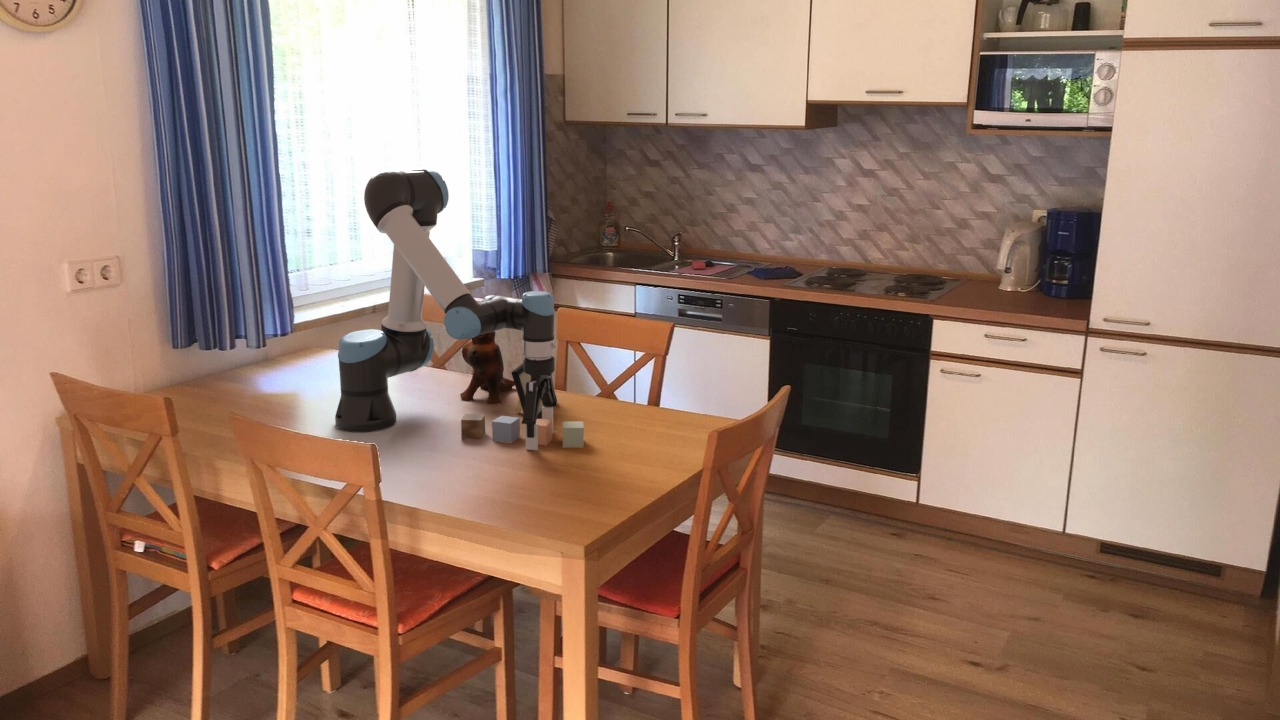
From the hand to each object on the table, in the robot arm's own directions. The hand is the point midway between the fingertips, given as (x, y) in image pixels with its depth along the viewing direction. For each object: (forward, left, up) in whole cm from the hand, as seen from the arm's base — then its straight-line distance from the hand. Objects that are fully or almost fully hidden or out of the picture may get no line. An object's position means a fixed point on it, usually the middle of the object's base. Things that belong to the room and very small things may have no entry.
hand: (540, 440), depth 244 cm
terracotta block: (0, 0, 0) cm, 0 cm away
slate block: (-9, 0, 0) cm, 9 cm away
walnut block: (-17, 0, 0) cm, 17 cm away
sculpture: (-26, +36, 0) cm, 45 cm away
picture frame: (-9, +21, 0) cm, 23 cm away
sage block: (+8, 0, 0) cm, 8 cm away
